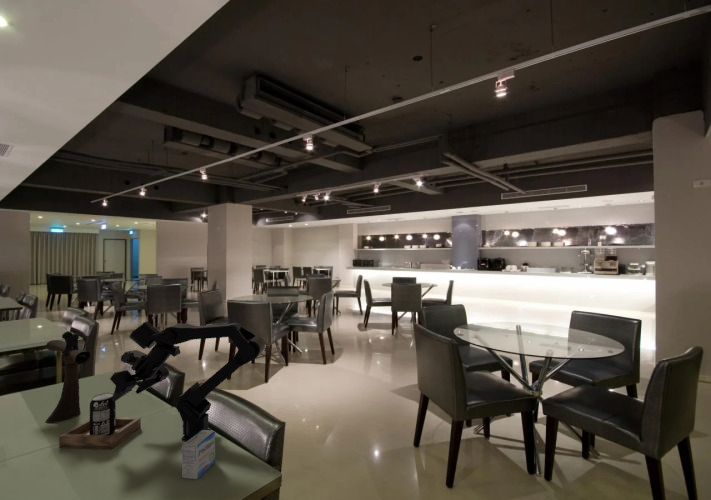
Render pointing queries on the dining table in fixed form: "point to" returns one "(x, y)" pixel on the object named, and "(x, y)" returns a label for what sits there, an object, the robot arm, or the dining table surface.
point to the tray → (84, 440)
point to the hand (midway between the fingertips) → (125, 396)
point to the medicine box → (198, 454)
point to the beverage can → (102, 414)
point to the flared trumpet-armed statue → (68, 376)
